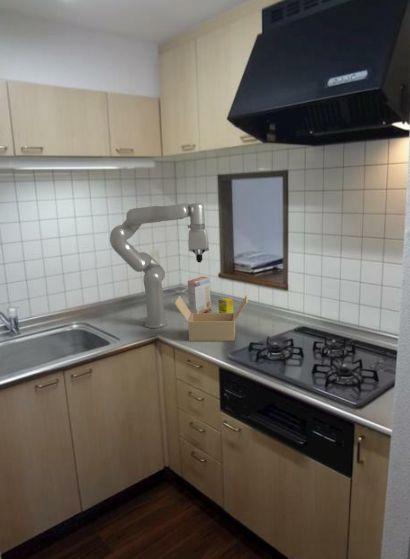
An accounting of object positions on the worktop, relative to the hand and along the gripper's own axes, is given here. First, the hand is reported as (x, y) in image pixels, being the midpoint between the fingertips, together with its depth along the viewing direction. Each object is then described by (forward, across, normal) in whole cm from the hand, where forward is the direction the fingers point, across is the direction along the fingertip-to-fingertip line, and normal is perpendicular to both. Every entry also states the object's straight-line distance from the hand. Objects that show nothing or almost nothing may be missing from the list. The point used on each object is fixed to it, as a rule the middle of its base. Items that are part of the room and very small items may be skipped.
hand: (199, 261), depth 225 cm
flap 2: (+20, +22, -18) cm, 35 cm away
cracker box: (+35, -5, +22) cm, 42 cm away
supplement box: (+35, +12, +13) cm, 39 cm away
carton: (+35, +8, -18) cm, 40 cm away
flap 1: (+20, -6, -19) cm, 28 cm away
